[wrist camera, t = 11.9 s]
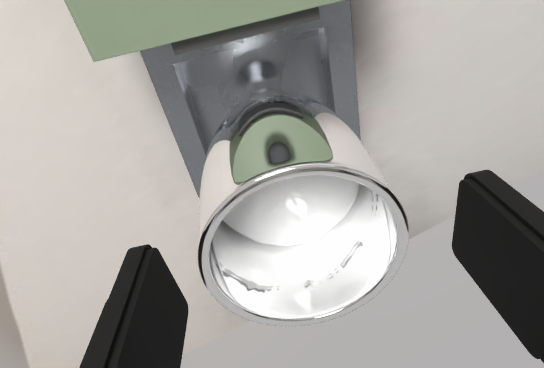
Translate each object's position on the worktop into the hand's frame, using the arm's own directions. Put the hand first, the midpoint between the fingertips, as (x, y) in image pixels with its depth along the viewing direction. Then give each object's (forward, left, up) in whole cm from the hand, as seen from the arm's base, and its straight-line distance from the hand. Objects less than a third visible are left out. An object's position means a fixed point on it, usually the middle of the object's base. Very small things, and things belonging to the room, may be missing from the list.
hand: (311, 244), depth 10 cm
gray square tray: (0, 0, -16) cm, 16 cm away
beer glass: (0, 0, -15) cm, 15 cm away
